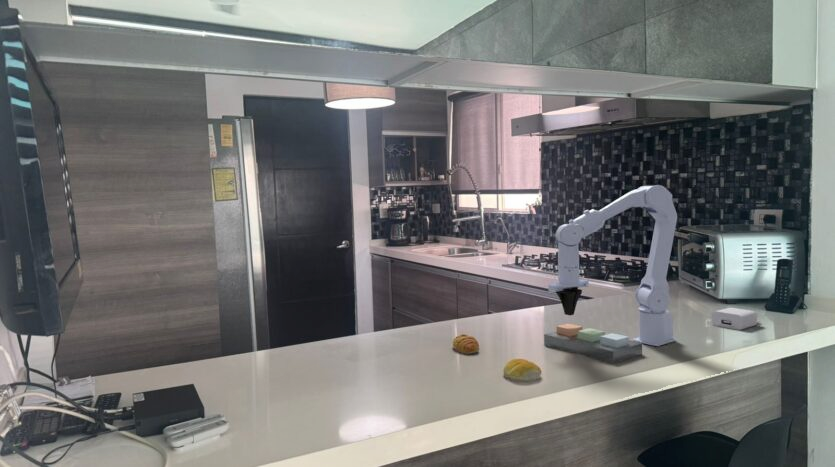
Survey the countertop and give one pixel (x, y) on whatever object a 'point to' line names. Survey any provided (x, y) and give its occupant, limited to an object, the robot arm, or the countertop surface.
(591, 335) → the sage button
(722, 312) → the charger
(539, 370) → the bread roll
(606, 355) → the button panel
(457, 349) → the pastry
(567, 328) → the terracotta button
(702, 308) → the countertop surface
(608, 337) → the blue-grey button
